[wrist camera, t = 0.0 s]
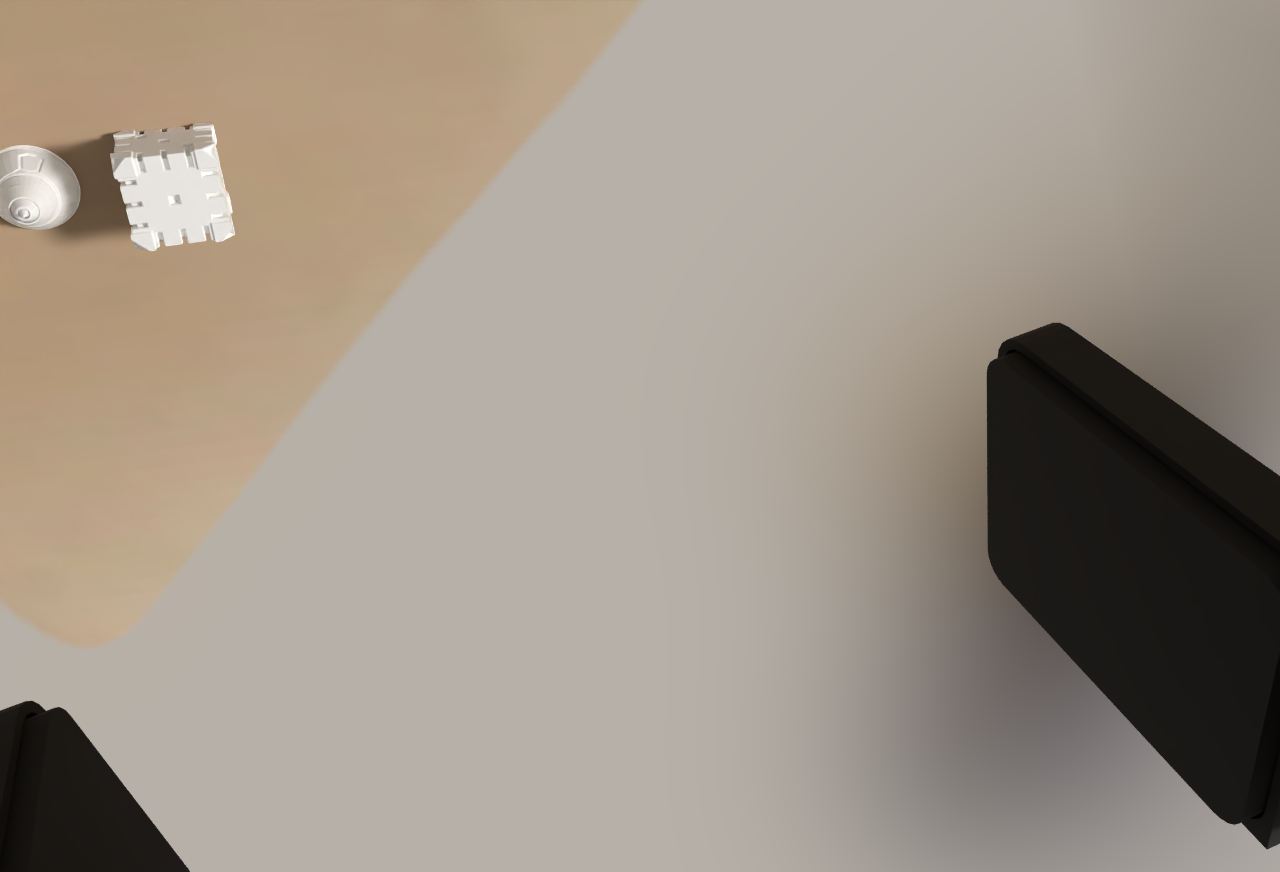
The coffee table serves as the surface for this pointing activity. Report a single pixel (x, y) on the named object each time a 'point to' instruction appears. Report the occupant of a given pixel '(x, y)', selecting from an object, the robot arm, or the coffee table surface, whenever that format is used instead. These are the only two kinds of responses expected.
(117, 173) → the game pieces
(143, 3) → the coffee table surface
